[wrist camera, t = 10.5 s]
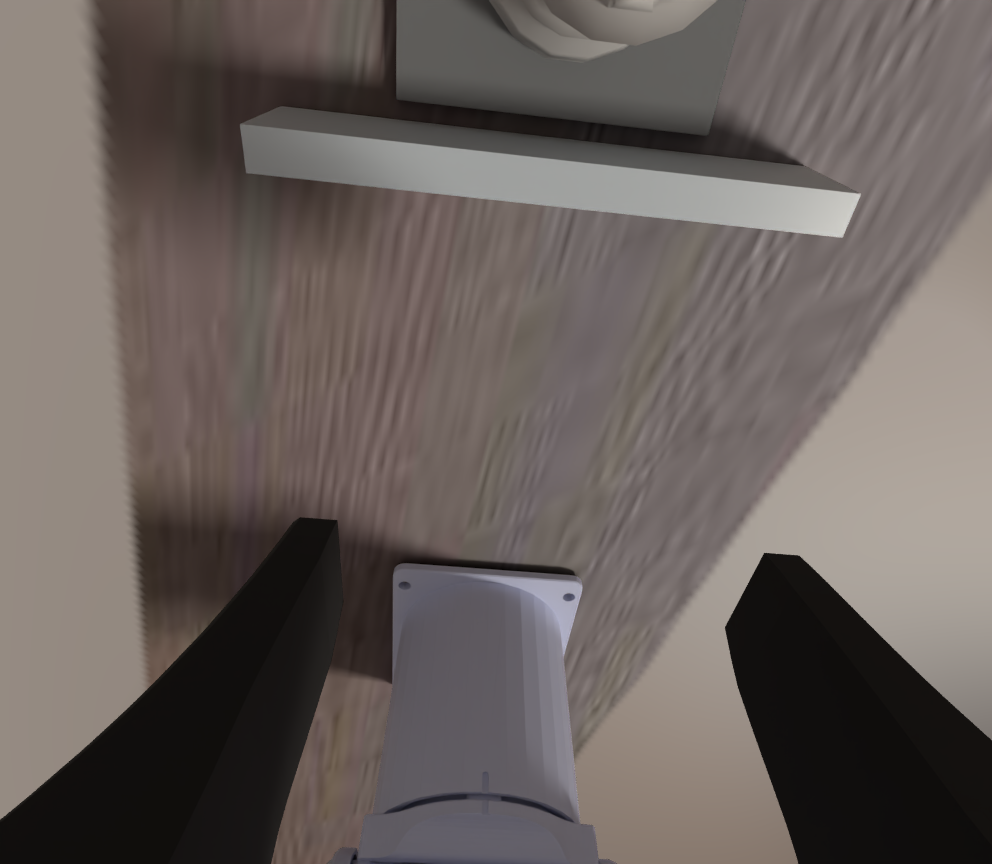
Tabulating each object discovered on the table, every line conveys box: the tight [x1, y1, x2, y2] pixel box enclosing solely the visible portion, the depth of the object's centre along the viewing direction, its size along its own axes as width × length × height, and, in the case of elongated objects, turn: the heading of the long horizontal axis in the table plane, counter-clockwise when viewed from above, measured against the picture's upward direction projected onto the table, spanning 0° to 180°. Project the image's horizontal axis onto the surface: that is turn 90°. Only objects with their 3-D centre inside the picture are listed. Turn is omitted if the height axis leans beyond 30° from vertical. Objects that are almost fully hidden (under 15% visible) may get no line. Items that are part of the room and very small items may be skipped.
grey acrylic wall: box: [240, 106, 861, 237], centre depth 15 cm, size 1×14×3 cm, turn 84°
